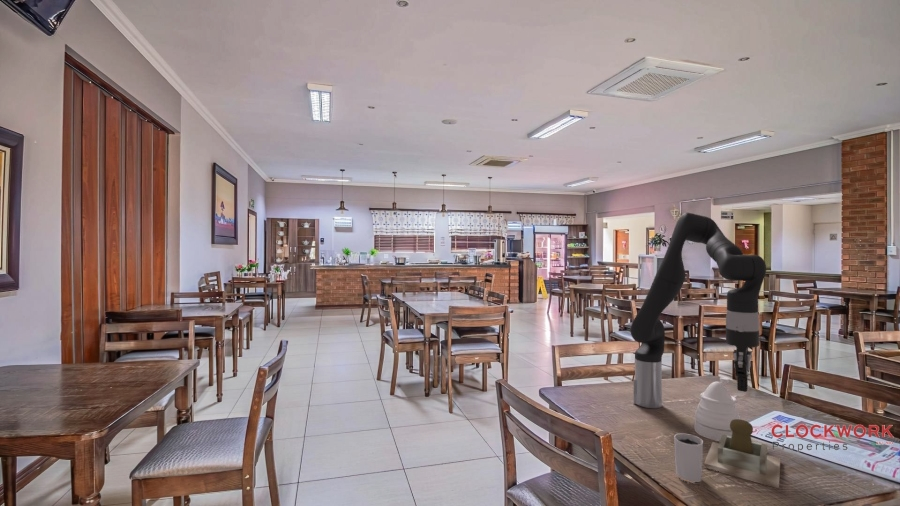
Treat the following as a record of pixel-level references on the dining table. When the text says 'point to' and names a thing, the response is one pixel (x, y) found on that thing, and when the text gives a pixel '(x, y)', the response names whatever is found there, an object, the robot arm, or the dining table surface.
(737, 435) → the brown rounded tapered piece
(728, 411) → the honey pot
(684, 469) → the white cup
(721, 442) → the stand
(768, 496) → the dining table surface
